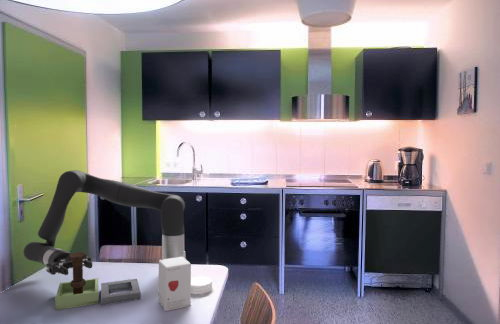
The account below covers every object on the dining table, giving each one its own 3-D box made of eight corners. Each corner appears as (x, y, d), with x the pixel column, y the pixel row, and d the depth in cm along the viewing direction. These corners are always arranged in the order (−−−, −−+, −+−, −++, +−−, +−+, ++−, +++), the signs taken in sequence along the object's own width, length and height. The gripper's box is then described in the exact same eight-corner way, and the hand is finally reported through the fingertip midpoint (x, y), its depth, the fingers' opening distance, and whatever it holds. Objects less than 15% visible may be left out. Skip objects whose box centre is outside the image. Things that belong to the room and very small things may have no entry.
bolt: (79, 299, 124) (78, 257, 123) (66, 298, 125) (65, 256, 124) (89, 292, 130) (89, 252, 129) (77, 291, 131) (76, 251, 130)
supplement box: (165, 312, 118) (165, 267, 117) (158, 301, 126) (157, 259, 125) (191, 306, 122) (191, 263, 121) (183, 296, 130) (182, 255, 129)
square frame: (137, 284, 140) (137, 278, 140) (140, 299, 127) (140, 292, 127) (101, 289, 135) (101, 283, 135) (101, 305, 122) (101, 298, 122)
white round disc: (205, 296, 130) (205, 287, 130) (181, 293, 133) (181, 284, 133) (216, 286, 140) (216, 277, 140) (192, 283, 143) (192, 274, 142)
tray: (98, 288, 137) (98, 278, 136) (98, 303, 124) (97, 292, 123) (60, 293, 132) (59, 282, 131) (55, 309, 119) (55, 298, 118)
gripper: (37, 254, 130) (58, 263, 120) (76, 245, 142) (98, 253, 132) (37, 274, 131) (58, 285, 121) (76, 264, 142) (98, 273, 132)
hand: (79, 268), depth 126 cm, fingers open, 8 cm apart
